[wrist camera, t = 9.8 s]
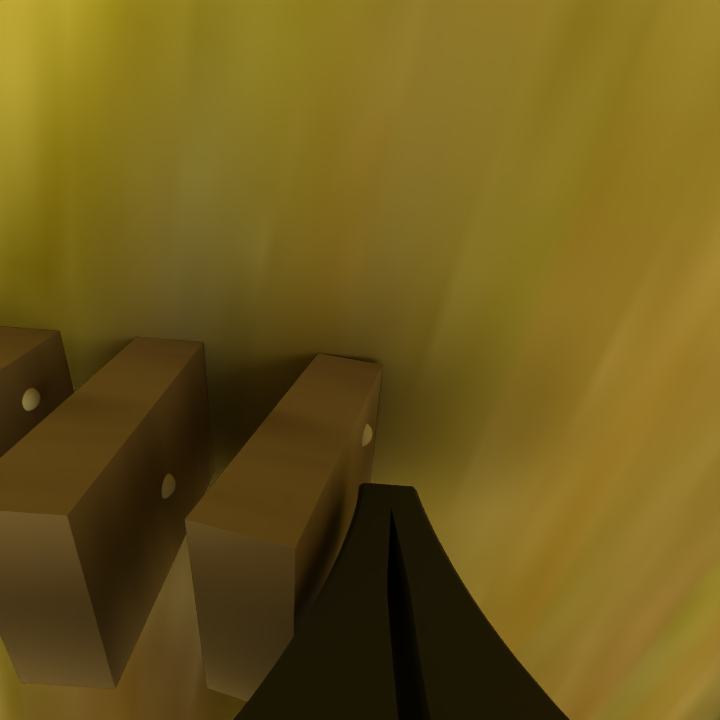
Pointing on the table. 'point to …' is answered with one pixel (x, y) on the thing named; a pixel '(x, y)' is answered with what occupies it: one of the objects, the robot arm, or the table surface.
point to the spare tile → (280, 520)
